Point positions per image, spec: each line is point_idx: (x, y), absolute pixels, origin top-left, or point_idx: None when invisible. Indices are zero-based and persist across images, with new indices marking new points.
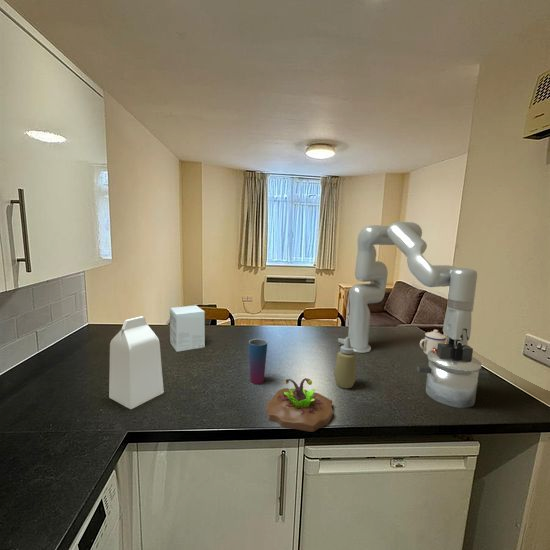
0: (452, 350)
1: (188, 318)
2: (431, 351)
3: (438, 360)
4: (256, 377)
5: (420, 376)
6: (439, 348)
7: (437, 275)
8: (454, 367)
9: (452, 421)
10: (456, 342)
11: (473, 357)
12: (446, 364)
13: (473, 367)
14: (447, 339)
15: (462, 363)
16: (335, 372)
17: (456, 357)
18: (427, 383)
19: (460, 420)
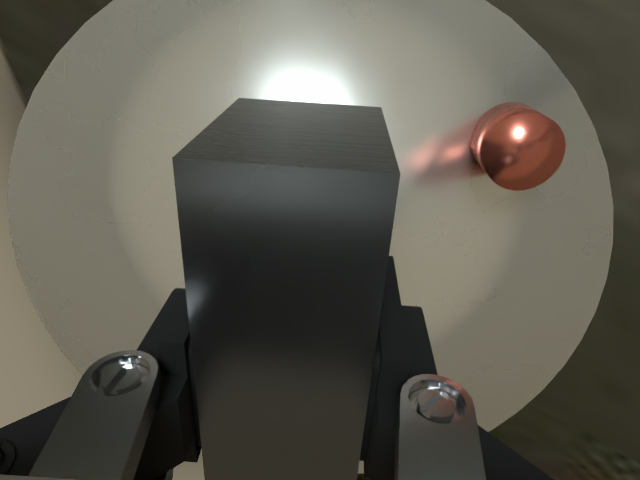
0: (187, 310)
1: None
2: (541, 95)
3: (163, 36)
4: None
5: (617, 62)
6: (290, 140)
7: None
8: (17, 166)
9: (7, 12)
10: (34, 473)
11: (358, 470)
12: (46, 94)
13: (81, 355)
14: (474, 431)
15: (159, 306)
16: None
17: (177, 294)
18: None
19: (39, 71)
